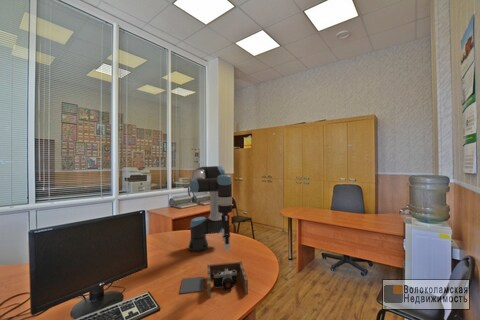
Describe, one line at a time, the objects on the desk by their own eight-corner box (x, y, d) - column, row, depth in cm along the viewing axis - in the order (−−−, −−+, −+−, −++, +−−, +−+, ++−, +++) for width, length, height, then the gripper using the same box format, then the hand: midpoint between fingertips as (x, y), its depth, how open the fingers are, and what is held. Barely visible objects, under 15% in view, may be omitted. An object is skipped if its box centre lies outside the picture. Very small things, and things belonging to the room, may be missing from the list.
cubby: (207, 277, 125) (207, 264, 125) (241, 273, 128) (241, 261, 128) (207, 298, 105) (207, 283, 105) (248, 293, 108) (247, 279, 108)
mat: (182, 279, 123) (182, 278, 123) (204, 277, 124) (204, 276, 124) (179, 294, 109) (179, 292, 109) (203, 291, 111) (203, 290, 111)
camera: (214, 293, 109) (215, 275, 109) (212, 285, 116) (213, 268, 116) (239, 291, 112) (240, 273, 112) (235, 283, 120) (236, 266, 120)
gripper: (216, 201, 126) (217, 237, 126) (219, 209, 101) (220, 255, 101) (229, 200, 127) (230, 236, 127) (235, 208, 102) (236, 253, 102)
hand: (225, 245), depth 114 cm, fingers open, 13 cm apart
